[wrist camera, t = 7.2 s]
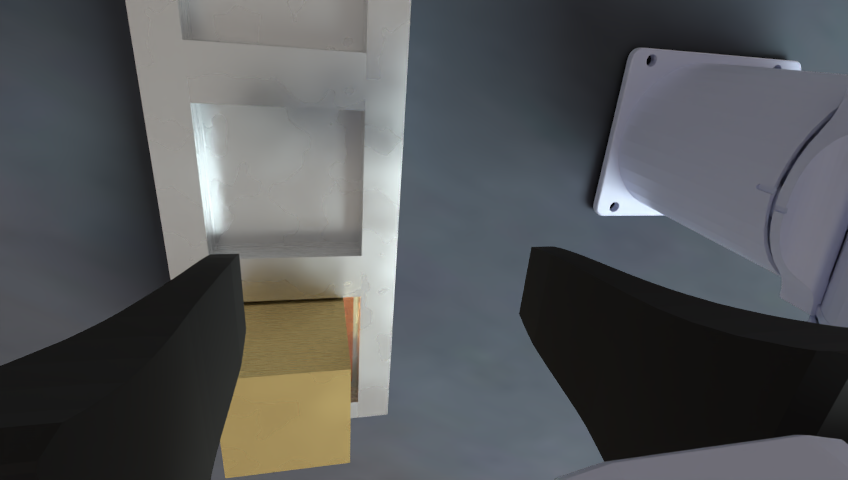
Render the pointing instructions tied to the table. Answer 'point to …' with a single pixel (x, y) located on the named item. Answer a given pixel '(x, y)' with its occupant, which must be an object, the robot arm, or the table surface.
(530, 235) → the table surface
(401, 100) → the rail
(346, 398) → the brass block
